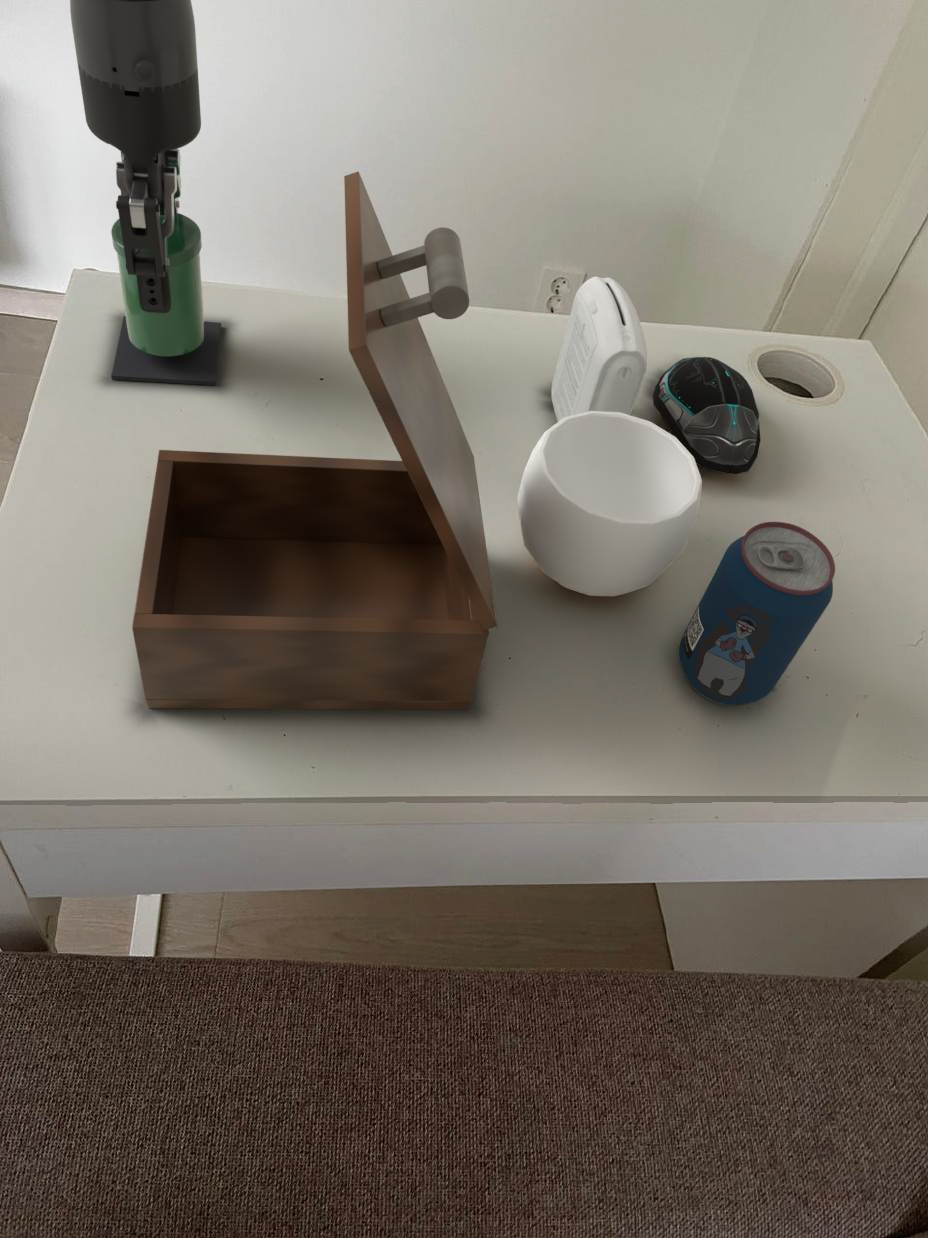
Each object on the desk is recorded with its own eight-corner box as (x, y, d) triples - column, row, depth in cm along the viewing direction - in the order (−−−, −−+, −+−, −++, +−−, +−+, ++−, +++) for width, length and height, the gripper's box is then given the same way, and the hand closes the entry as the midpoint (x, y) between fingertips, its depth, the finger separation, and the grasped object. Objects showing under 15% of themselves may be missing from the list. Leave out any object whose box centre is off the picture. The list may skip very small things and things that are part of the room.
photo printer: (618, 471, 81) (663, 343, 72) (568, 471, 80) (606, 341, 71) (591, 390, 87) (629, 263, 78) (544, 388, 86) (576, 260, 77)
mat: (111, 379, 79) (111, 375, 79) (124, 319, 84) (123, 315, 84) (215, 385, 81) (214, 381, 80) (221, 326, 86) (221, 322, 85)
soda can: (759, 637, 72) (830, 519, 63) (779, 718, 67) (858, 604, 58) (666, 628, 71) (724, 508, 62) (680, 710, 67) (744, 593, 57)
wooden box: (147, 708, 61) (131, 627, 55) (169, 535, 70) (158, 449, 64) (469, 710, 64) (489, 633, 58) (451, 544, 73) (467, 463, 67)
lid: (348, 349, 42) (461, 313, 41) (343, 175, 51) (436, 143, 50) (484, 630, 58) (568, 609, 57) (462, 460, 67) (534, 439, 66)
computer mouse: (730, 370, 92) (753, 316, 88) (770, 498, 82) (798, 444, 77) (639, 360, 91) (657, 306, 87) (668, 489, 80) (690, 434, 76)
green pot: (120, 355, 79) (105, 251, 72) (130, 308, 83) (117, 205, 76) (204, 360, 80) (197, 258, 73) (210, 313, 84) (204, 212, 77)
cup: (547, 480, 79) (575, 381, 72) (690, 547, 77) (734, 452, 69) (475, 576, 72) (497, 477, 64) (631, 654, 69) (673, 560, 62)
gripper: (92, 4, 69) (122, 229, 81) (58, 100, 60) (97, 336, 72) (205, 17, 70) (217, 237, 83) (187, 113, 61) (204, 342, 74)
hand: (161, 282), depth 77 cm, fingers closed on green pot, 6 cm apart
